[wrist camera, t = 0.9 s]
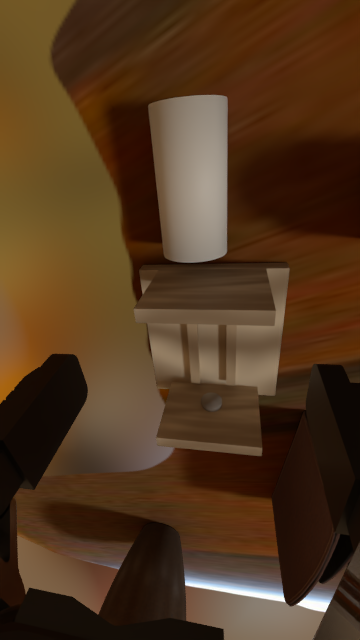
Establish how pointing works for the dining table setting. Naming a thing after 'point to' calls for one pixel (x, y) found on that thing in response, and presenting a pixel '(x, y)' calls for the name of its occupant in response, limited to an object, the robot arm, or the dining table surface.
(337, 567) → the letter holder
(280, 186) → the dining table surface
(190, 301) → the roll holder
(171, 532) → the plant pot
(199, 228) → the paper roll
